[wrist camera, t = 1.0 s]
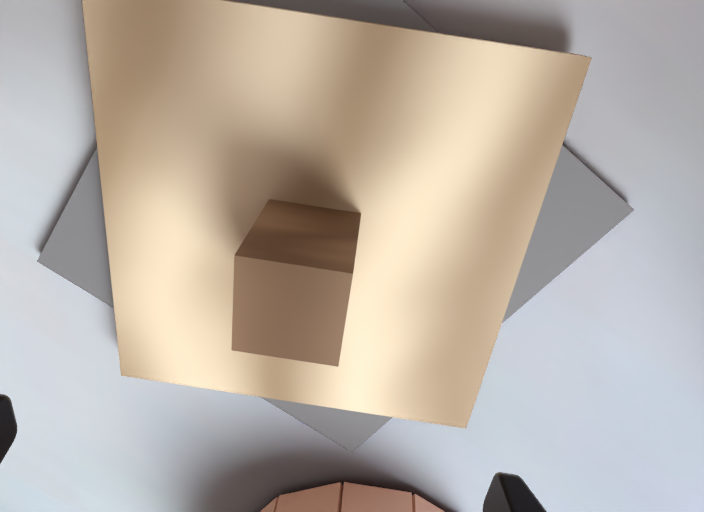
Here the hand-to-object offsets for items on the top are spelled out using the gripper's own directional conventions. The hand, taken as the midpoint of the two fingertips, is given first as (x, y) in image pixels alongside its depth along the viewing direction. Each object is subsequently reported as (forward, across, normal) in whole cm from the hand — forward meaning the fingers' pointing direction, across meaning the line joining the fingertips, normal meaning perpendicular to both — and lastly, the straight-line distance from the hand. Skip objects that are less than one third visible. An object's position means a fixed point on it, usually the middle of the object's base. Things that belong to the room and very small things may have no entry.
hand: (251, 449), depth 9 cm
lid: (+9, 0, 0) cm, 9 cm away
